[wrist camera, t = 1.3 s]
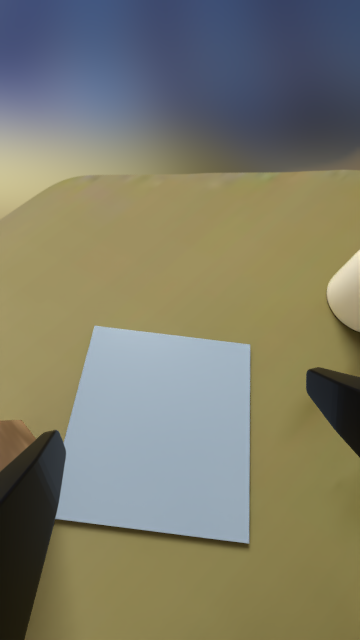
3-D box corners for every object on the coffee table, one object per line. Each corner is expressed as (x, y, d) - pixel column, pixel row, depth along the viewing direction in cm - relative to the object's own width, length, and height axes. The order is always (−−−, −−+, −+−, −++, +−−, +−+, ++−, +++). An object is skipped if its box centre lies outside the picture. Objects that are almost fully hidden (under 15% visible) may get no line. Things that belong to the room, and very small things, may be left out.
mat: (246, 539, 19) (249, 543, 19) (47, 514, 19) (44, 517, 19) (248, 346, 25) (250, 344, 25) (96, 327, 25) (94, 325, 25)
